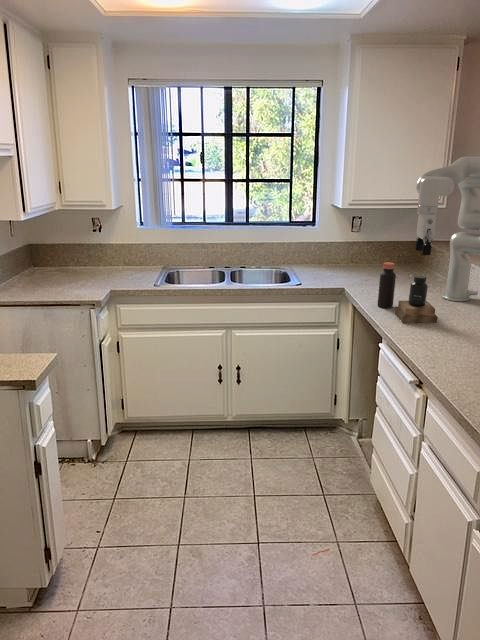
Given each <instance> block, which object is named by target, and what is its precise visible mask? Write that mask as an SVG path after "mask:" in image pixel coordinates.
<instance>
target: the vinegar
mask: <svg viewBox="0 0 480 640" xmlns="http://www.w3.org/2000/svg"><path fill="white" fill-rule="evenodd" d="M395 265H396V264H395V263H394V262H389V261H387V262H383V264H382V271H381V273H380V275H379V281H378V282H379V285H378V293H377V294H378V295H377V307H379V308H381V309H392V308H394V296H395V288H396V279H397V278H396V277H397V275H396V273H395V272H394V270H395Z"/></svg>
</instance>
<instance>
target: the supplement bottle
mask: <svg viewBox="0 0 480 640" xmlns="http://www.w3.org/2000/svg"><path fill="white" fill-rule="evenodd" d="M426 282H427V277H426V276H424V275H415V276H414V277H413V282H411V283H410V288H409V294H408V296H409V297H408V301H409V304H410V305H412V306H418V307H421V306H424V305H425V303H426V301H427V295H428V287H429V285H428V284H427V283H426Z"/></svg>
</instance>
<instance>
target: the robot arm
mask: <svg viewBox="0 0 480 640" xmlns="http://www.w3.org/2000/svg"><path fill="white" fill-rule="evenodd" d="M456 185H457V187H458V189H459V191H460V194H461V202H460V206H459V211H458V217H457V226H458V228H460V229H463V230H469V231H479V232H480V190H479V189H480V156H462V157H459V158H457V159H456V160H455V161H454V162H452V163H451V164H450V165H447V166H443V167H440V168H435V169H432V170H430V171H426V172H425V173H424V174H422V175H421V176H420V177H419V178H418V180H417V183H416V184H415V187H416V191H417V193H418V194H419V195H418V201H417V202H418V203H417V211H416V212H417V213H416V214H418V217H417V225H416V241H415V249H414V250H415V251H417V252H418V251H419V252H421V255H422V256H430V255H431V253H432V245H433V243H432V242H433V240H435V238H436V226H437V219H436V218H437V215H438V209H439V208H438V207H439V200H440V197H447V196H450V195H451V194H452V193H453V191H454V189H455V186H456ZM449 248H450V249H449V250H450V253H449V255H450V256H449V257H450V258H449V264H448V272H447V279H446V286H445V287H446V288H445V292H444V293H441V298H442V299H444V300H448V301H451V302H467V301H469V300H471V296H478V291H477V290H475V291H474V290H470V289H469V282H470V275H471V270H472V269H471V268H472V260H471V257H470V256H469V255H475V256H480V233H474V232H467V231H466V232H465V231H459V232H455V233H453V234H452V235H451V237H450V240H449Z"/></svg>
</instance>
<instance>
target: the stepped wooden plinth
mask: <svg viewBox="0 0 480 640" xmlns="http://www.w3.org/2000/svg"><path fill="white" fill-rule="evenodd" d="M397 303H398V304H397V305H398V306H394V314H395V315H397V316H396V317H397V318H398V319H399V321H400V320H401V321H400V322H401V324H418V323H437V324H438V315H436V308H435V307H434V306H433V305H432V304H431V303H430V302H428V300H426V303H425V305H424V306H421V307H418V306H412V305H410V304H409V300H398V302H397Z"/></svg>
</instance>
